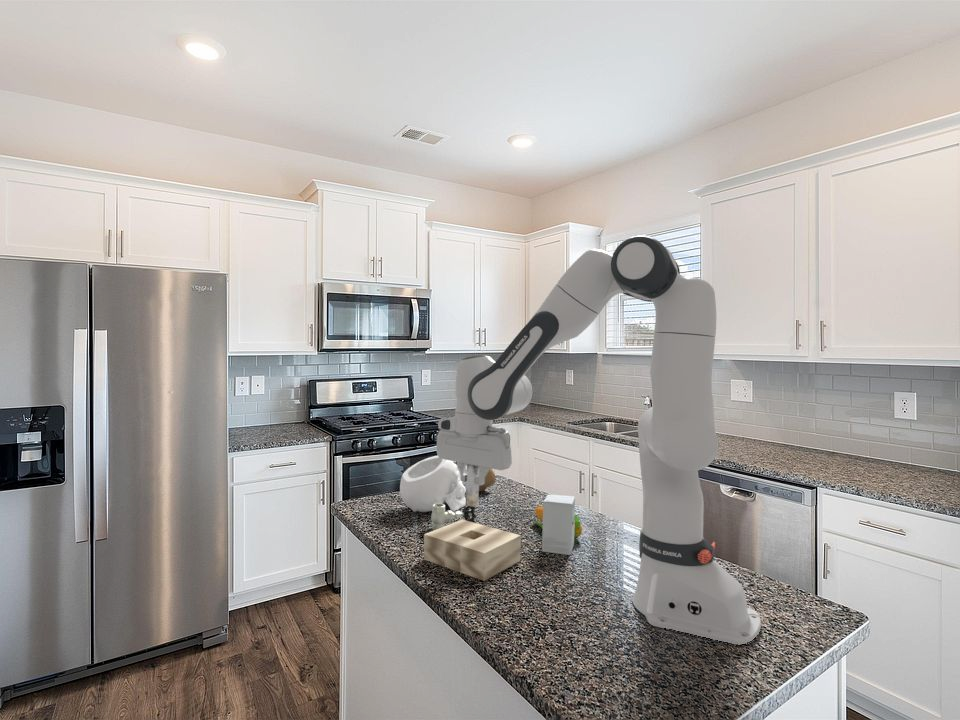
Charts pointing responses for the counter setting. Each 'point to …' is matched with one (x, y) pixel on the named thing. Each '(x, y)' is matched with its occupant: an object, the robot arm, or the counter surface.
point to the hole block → (472, 549)
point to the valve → (449, 515)
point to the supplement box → (558, 524)
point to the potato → (488, 480)
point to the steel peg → (472, 485)
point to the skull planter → (432, 485)
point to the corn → (576, 529)
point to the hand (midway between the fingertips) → (472, 482)
